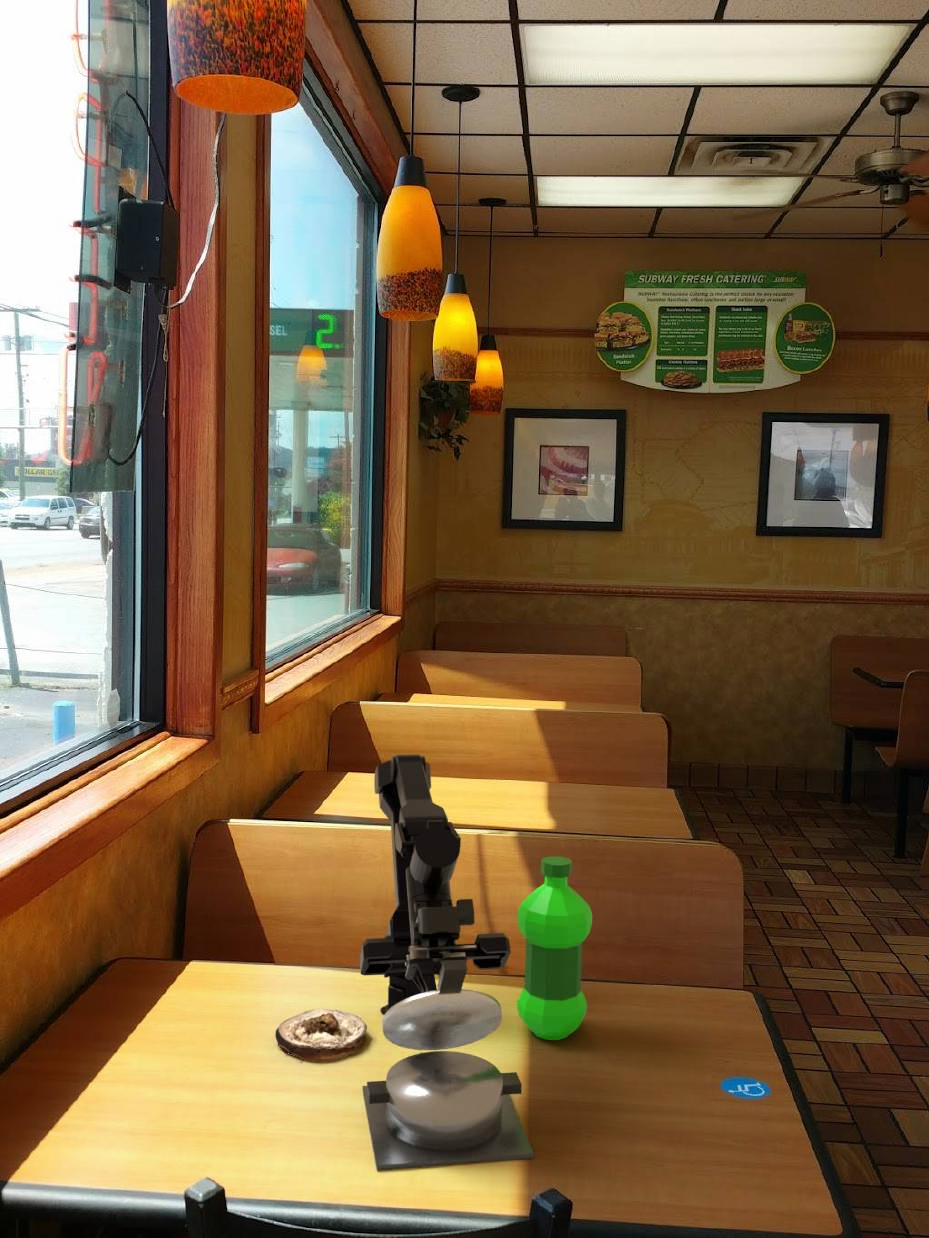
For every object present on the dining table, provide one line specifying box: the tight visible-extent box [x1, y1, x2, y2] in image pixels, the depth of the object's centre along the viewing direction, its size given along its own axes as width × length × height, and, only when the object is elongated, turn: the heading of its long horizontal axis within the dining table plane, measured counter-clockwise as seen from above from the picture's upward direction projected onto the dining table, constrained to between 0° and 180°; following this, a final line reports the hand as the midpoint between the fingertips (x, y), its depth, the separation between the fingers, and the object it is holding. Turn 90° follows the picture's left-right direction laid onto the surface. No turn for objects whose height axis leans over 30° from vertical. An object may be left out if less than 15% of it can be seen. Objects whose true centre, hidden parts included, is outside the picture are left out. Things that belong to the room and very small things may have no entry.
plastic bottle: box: [516, 856, 593, 1041], centre depth 163 cm, size 10×10×25 cm
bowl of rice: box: [274, 1008, 368, 1064], centre depth 159 cm, size 15×15×4 cm
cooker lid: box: [381, 960, 503, 1051], centre depth 139 cm, size 20×15×2 cm
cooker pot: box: [362, 1050, 534, 1171], centre depth 139 cm, size 18×18×6 cm
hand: (440, 1021), depth 142 cm, fingers closed, pressing on cooker lid
